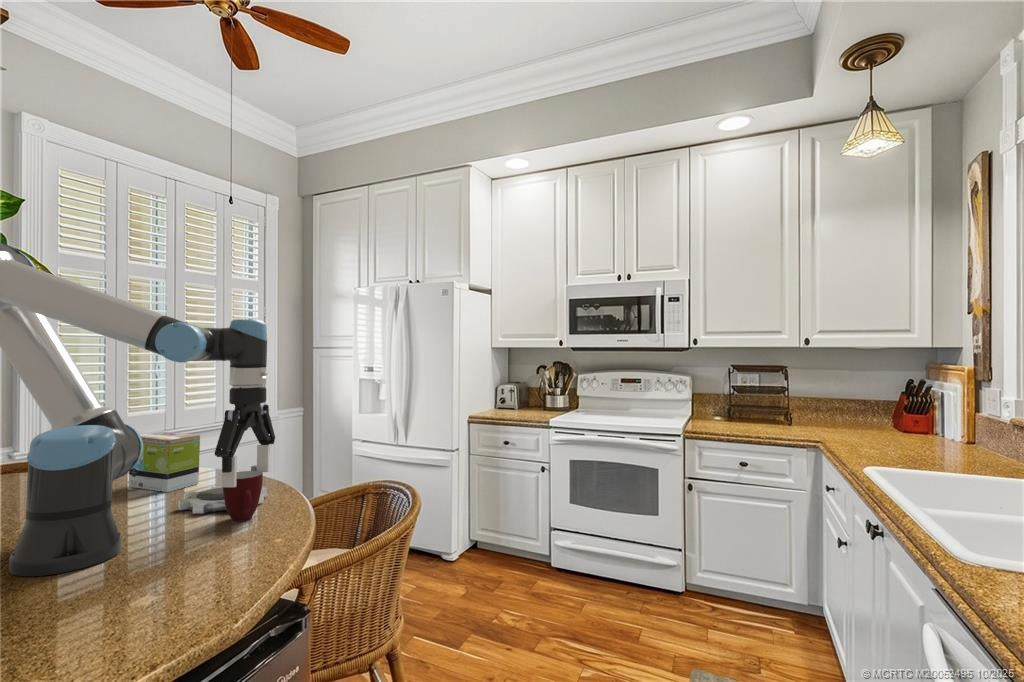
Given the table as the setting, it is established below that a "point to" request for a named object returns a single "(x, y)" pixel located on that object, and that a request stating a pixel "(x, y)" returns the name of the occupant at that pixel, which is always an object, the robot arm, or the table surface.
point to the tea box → (167, 462)
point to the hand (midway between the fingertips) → (247, 479)
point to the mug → (243, 495)
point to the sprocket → (210, 499)
